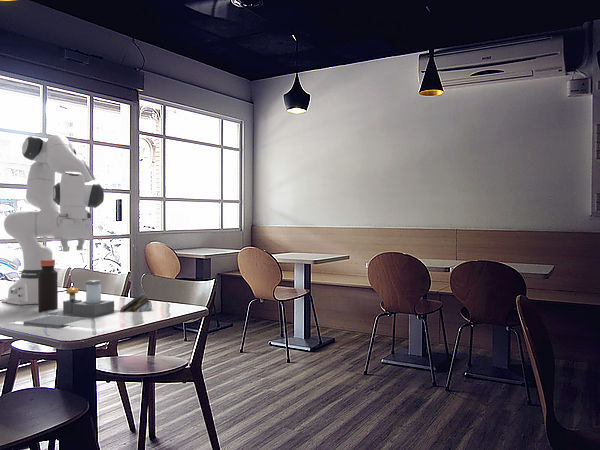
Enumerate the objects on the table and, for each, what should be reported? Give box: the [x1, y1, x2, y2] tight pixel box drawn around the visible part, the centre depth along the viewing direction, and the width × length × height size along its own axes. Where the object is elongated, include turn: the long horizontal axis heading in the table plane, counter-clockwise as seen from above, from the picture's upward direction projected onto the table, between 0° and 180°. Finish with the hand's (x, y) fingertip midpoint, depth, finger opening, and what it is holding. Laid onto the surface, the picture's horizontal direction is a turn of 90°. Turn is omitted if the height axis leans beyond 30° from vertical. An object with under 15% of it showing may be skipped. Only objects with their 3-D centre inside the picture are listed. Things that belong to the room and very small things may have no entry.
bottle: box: [37, 259, 59, 313], centre depth 199 cm, size 7×7×20 cm
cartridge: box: [85, 279, 102, 304], centre depth 191 cm, size 5×5×12 cm
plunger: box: [66, 287, 79, 302], centre depth 194 cm, size 4×4×6 cm
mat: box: [23, 315, 88, 329], centre depth 178 cm, size 16×12×1 cm
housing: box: [46, 299, 121, 319], centre depth 192 cm, size 22×16×5 cm
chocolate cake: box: [119, 292, 153, 313], centre depth 198 cm, size 10×7×12 cm
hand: (73, 250), depth 194 cm, fingers open, 8 cm apart
